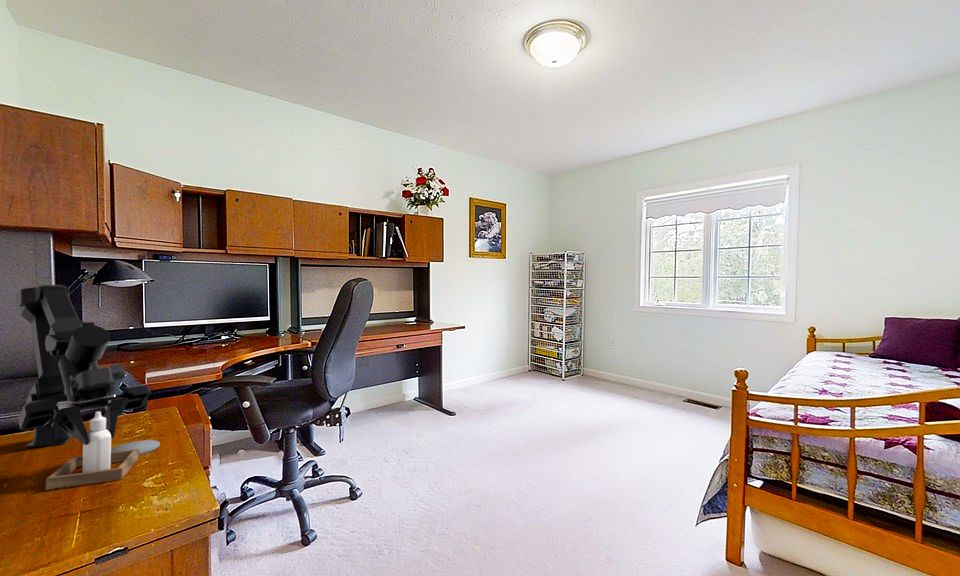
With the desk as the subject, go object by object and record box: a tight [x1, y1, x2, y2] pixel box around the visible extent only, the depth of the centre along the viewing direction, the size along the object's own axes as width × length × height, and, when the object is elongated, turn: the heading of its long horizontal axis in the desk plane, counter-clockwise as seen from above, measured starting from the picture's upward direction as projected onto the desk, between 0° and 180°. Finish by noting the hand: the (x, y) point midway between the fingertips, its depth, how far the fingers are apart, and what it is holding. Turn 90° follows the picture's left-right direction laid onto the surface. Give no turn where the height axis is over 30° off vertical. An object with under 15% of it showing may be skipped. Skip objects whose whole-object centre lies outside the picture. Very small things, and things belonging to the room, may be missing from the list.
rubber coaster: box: [111, 439, 161, 456], centre depth 91 cm, size 9×9×1 cm
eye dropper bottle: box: [81, 411, 112, 473], centre depth 80 cm, size 4×6×12 cm
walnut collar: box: [45, 449, 140, 491], centre depth 80 cm, size 11×11×2 cm
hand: (100, 440), depth 79 cm, fingers closed on eye dropper bottle, 3 cm apart
